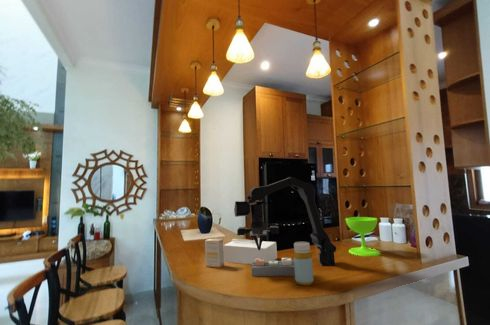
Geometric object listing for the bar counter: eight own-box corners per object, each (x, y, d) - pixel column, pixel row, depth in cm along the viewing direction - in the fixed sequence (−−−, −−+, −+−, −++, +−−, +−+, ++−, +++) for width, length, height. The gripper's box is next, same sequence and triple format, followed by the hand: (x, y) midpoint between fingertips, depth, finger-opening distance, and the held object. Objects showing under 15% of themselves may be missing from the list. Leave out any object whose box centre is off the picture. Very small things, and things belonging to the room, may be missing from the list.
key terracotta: (264, 262, 112) (264, 257, 112) (264, 265, 108) (264, 260, 108) (255, 263, 112) (255, 258, 112) (255, 265, 108) (254, 260, 108)
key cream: (290, 262, 111) (290, 257, 111) (291, 264, 107) (291, 259, 107) (281, 262, 111) (281, 257, 111) (282, 265, 107) (282, 260, 108)
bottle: (293, 280, 99) (290, 242, 100) (310, 278, 99) (307, 240, 101) (298, 286, 92) (295, 245, 94) (316, 285, 93) (313, 244, 94)
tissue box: (266, 266, 118) (265, 243, 119) (223, 261, 130) (222, 240, 131) (277, 258, 131) (275, 237, 132) (237, 254, 142) (236, 235, 144)
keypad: (294, 268, 113) (293, 260, 113) (296, 275, 104) (295, 266, 104) (253, 269, 114) (252, 261, 115) (252, 276, 106) (251, 267, 106)
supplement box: (224, 265, 123) (223, 238, 124) (219, 268, 119) (218, 240, 120) (210, 263, 126) (209, 238, 128) (205, 266, 122) (204, 240, 123)
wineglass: (343, 253, 133) (340, 219, 135) (355, 247, 144) (352, 216, 146) (374, 258, 122) (370, 221, 124) (385, 251, 132) (381, 217, 134)
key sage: (277, 265, 111) (277, 260, 112) (278, 267, 107) (277, 262, 108) (268, 265, 112) (268, 260, 112) (268, 268, 108) (268, 263, 108)
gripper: (234, 218, 105) (236, 255, 104) (278, 216, 104) (280, 254, 102) (237, 215, 116) (239, 248, 115) (277, 213, 115) (279, 247, 113)
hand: (259, 249), depth 111 cm, fingers closed
